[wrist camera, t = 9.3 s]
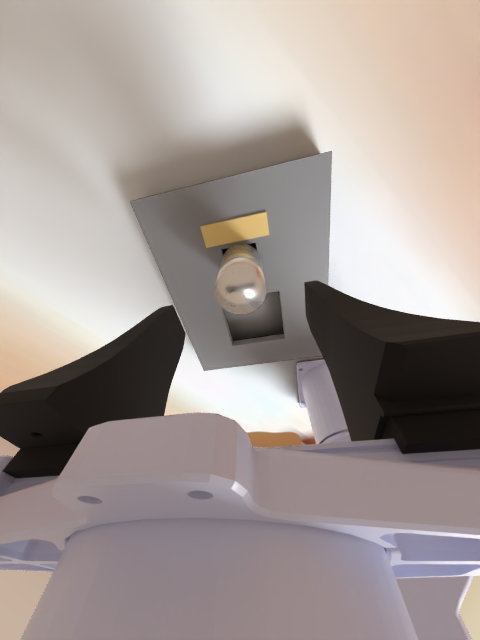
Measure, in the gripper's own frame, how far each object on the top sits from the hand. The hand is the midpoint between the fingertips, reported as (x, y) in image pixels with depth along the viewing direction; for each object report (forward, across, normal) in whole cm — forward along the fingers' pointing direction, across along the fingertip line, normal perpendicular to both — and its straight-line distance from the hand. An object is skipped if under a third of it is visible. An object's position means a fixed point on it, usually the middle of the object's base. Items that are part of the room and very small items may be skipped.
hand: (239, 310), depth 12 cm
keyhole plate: (+10, 0, +3) cm, 10 cm away
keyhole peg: (+10, 0, 0) cm, 10 cm away
